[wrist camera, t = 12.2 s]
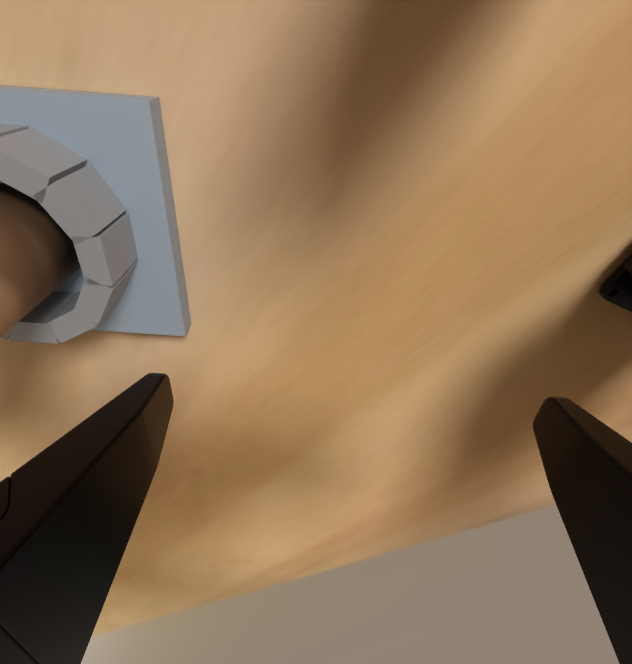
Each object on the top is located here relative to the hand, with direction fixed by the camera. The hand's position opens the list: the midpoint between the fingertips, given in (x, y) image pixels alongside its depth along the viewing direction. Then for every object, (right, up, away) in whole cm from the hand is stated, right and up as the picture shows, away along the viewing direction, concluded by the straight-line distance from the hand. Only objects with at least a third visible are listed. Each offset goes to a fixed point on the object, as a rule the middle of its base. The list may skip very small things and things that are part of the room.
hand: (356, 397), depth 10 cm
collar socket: (-15, +7, +11) cm, 20 cm away
